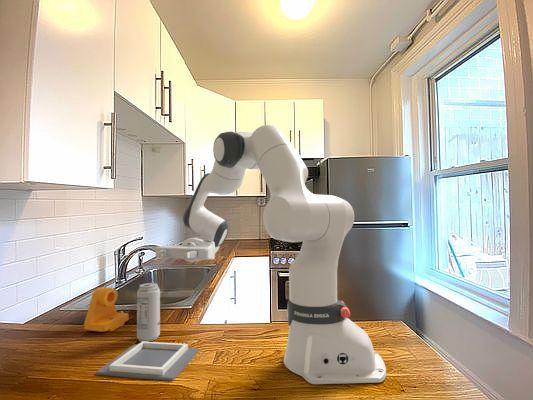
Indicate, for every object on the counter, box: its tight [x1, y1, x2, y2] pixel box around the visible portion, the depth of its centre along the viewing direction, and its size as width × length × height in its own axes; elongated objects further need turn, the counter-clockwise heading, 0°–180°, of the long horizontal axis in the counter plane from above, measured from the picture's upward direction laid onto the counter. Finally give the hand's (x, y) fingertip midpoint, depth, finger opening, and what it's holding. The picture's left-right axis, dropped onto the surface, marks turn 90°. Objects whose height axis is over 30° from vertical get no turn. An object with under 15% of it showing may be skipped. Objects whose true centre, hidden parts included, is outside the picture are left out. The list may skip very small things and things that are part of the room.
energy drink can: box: [136, 282, 161, 343], centre depth 85 cm, size 6×6×15 cm
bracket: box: [83, 286, 130, 332], centre depth 95 cm, size 11×7×12 cm, turn 164°
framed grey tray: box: [95, 341, 200, 382], centre depth 71 cm, size 18×14×2 cm
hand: (172, 255), depth 97 cm, fingers open, 8 cm apart
